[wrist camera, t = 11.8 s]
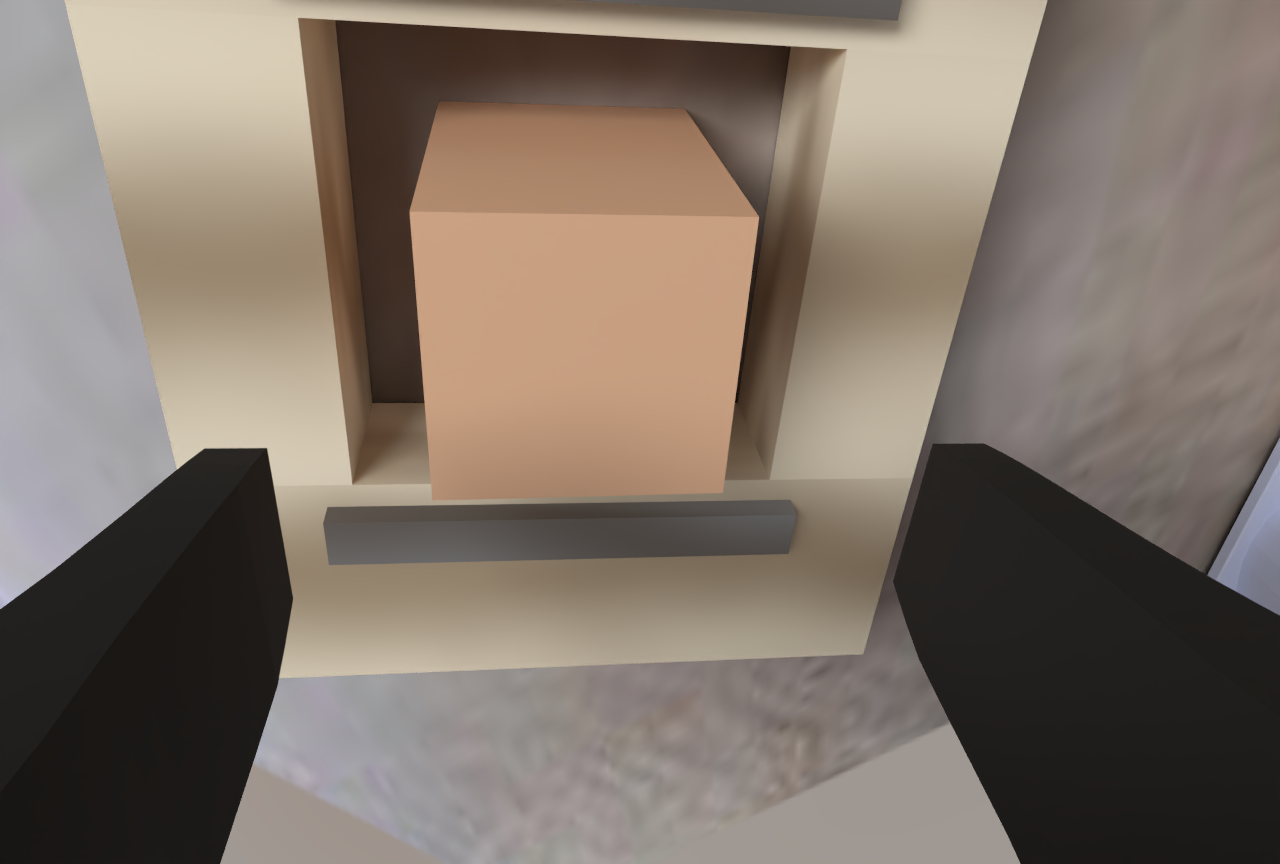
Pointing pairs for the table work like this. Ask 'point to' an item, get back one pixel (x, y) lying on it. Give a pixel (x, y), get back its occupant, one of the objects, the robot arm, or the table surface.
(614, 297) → the block
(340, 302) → the slotted wooden holder
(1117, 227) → the table surface
